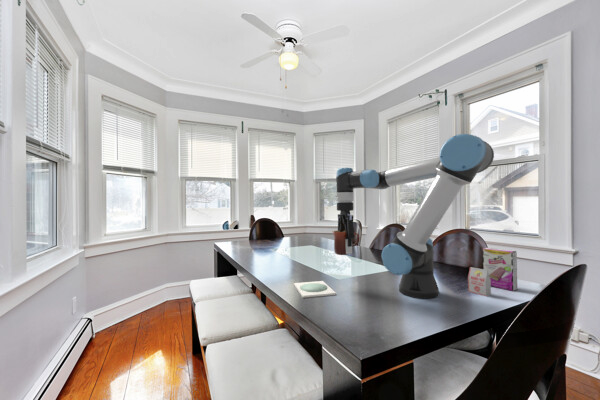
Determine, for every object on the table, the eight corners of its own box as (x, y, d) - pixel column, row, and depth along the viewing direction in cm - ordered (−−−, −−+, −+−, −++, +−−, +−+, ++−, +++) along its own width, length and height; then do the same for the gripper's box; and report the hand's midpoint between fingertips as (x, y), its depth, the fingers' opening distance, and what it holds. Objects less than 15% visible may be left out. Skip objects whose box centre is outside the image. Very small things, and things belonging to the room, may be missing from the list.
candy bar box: (483, 285, 119) (481, 248, 119) (487, 283, 121) (486, 247, 122) (513, 291, 109) (512, 251, 110) (518, 289, 112) (516, 250, 112)
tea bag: (473, 290, 112) (472, 266, 112) (490, 294, 106) (490, 269, 106) (468, 291, 110) (467, 267, 111) (485, 296, 104) (485, 270, 105)
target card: (335, 294, 109) (335, 292, 109) (302, 297, 106) (302, 295, 106) (322, 282, 127) (322, 280, 127) (294, 284, 124) (294, 282, 124)
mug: (332, 255, 117) (332, 232, 117) (332, 252, 126) (332, 230, 126) (360, 255, 116) (360, 232, 116) (358, 252, 124) (358, 230, 124)
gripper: (330, 202, 131) (330, 248, 130) (345, 201, 111) (345, 256, 110) (344, 202, 132) (345, 248, 132) (362, 201, 112) (362, 255, 112)
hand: (345, 252), depth 121 cm, fingers closed on mug, 7 cm apart
